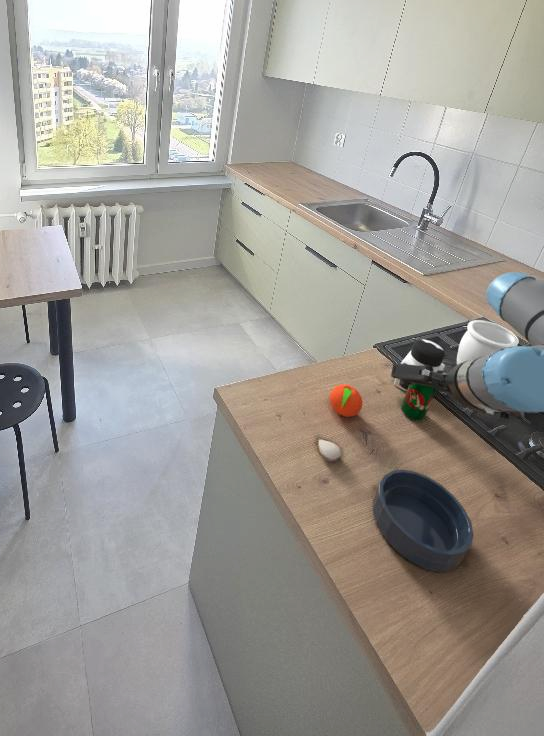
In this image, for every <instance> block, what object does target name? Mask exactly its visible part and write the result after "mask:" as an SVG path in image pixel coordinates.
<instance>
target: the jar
mask: <svg viewBox="0 0 544 736" xmlns="http://www.w3.org/2000/svg"><path fill="white" fill-rule="evenodd" d="M466 326H467V327H466V328H467V330H466V332H465V333H464V334H463V335H462V337H461V340H460V342H459V344H458V349H457V355H456V365H458V364H460V363H462V362H466V361H469V360H471V359H474V358H478V357H483V356H487V355H490V354H493V353H496V352H497V351H498V350H501V349H505V348H510V347H516V346H519V345H518V344H519V341H520V340H519V338H518V337H517V336H516V335H515V333H513V331H511V330H509V329H508V328H506V327H505V326H503V325H500V324H498V323H496V322H495V323H494V322H492V321H488V320H484V319H474V320H473V319H472V320H470V321H469V322H468V323H467V325H466Z"/></svg>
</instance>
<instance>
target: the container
mask: <svg viewBox="0 0 544 736" xmlns="http://www.w3.org/2000/svg"><path fill="white" fill-rule="evenodd" d="M445 355H446V353H445V351H444V349H443V347H442V346H440V345H439V344H437V343H436V342H434V341H431V340H428V339H417V340H415V341H414V342H413V345H412V348H411V350H410V351H409V352H408V353H407V355H406V356H405V357H404V358H403V360H402V361H401V362H400V364H404V363H405V364H408V365H418V366H422V365H430V366H432V367H433V369H434V370H433V372H437V371H438V370H442V371H445V368H446V364H444V363H443V360H444V358H445ZM394 379H395V380H394V381H393V385H394V386H395V387H397V388H399V389H401V390H402V391H404V392H405V393H406V392H407V389H408V387H409V385H407V386H400V385H399V383H400V379H398V378H394Z"/></svg>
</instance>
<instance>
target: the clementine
mask: <svg viewBox="0 0 544 736" xmlns="http://www.w3.org/2000/svg"><path fill="white" fill-rule="evenodd" d="M329 402H330V405H331V407H332V409H333V410H334V411H335V412H336V413H337V414H339V415H340V416H343V417H347V418H351V417H355V416H356V415H358V414H359V413H360V412H361V411H362V408H363V399H362V395H361V394H360V392H359V390H357V389H356V388H355V387H354V386H352V385H350V384H345V383H344V384H338V385H336V386H334V387H333V388H332V390H331V392H330V394H329Z"/></svg>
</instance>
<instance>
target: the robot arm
mask: <svg viewBox="0 0 544 736" xmlns="http://www.w3.org/2000/svg"><path fill="white" fill-rule="evenodd" d="M485 295H486V297H485V298H486V301H487V303H488V305H489V306H490V307H491V308H492V309H493V311H494V312H495V313H496V314H497V315H498V317H500V319H501V320H502V321H503V322H505V323H507V324H508V325H509V326H510V327H511V328H513V329H514V330H515V331H516V332H517V333H518V334H519V335H520V336H522V337H523V339H525V340H526V341H527V342H528V343H529V344H530V346H527V345H525V346H522V345H517V346H516V347H510V348H505V349H501V350H498V351H497V352H496V353H493V354H490V355H487V356H483V357H478V358H474V359H471V360H469V361H466V362H462V363H460V364H458V365H457V364H456V365H455V366H453V368H451V370H450V371H448V370H443V371H442V370H438V371H437V372H433V370H434V369H433V367H432V366H430V365H422V366H418V365H408V364H405V363H404V364H401V363H396V362H394V363H392V367H391V374H390V378H393V379H396V378H398V379H400V383H399V385H400V386H407V385H411V383H415V384H420V385H425V386H430V387H434V388H435V389H436V391H438V392H441V393H443V394H450V395H452V396H453V397H454V398H455V400H456V401H457V402H458V403H459V404H461V405H462V406H463V407H465V408H467V409H469V410H471V411H474V412H477V413H482V414H488V415H489V416H493V415H494V414H500V416H499V417H500V418H502V419H505V420H509V419H510V414H513V416H514V417H515V418H517V419H519V420H524V419H525V413H526V414H537V413H538V414H539V413H542V412H544V278H541V279H537V278H536V277H534V276H532V275H529V274H527V273H524V272H516V271H511V272H510V271H509V272H506V273H503V274H501V275H499V276H497V277H496V278H494V279H493V280H492V281H491V282H490V284H489V285H488V286H487V289H486V294H485Z"/></svg>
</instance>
